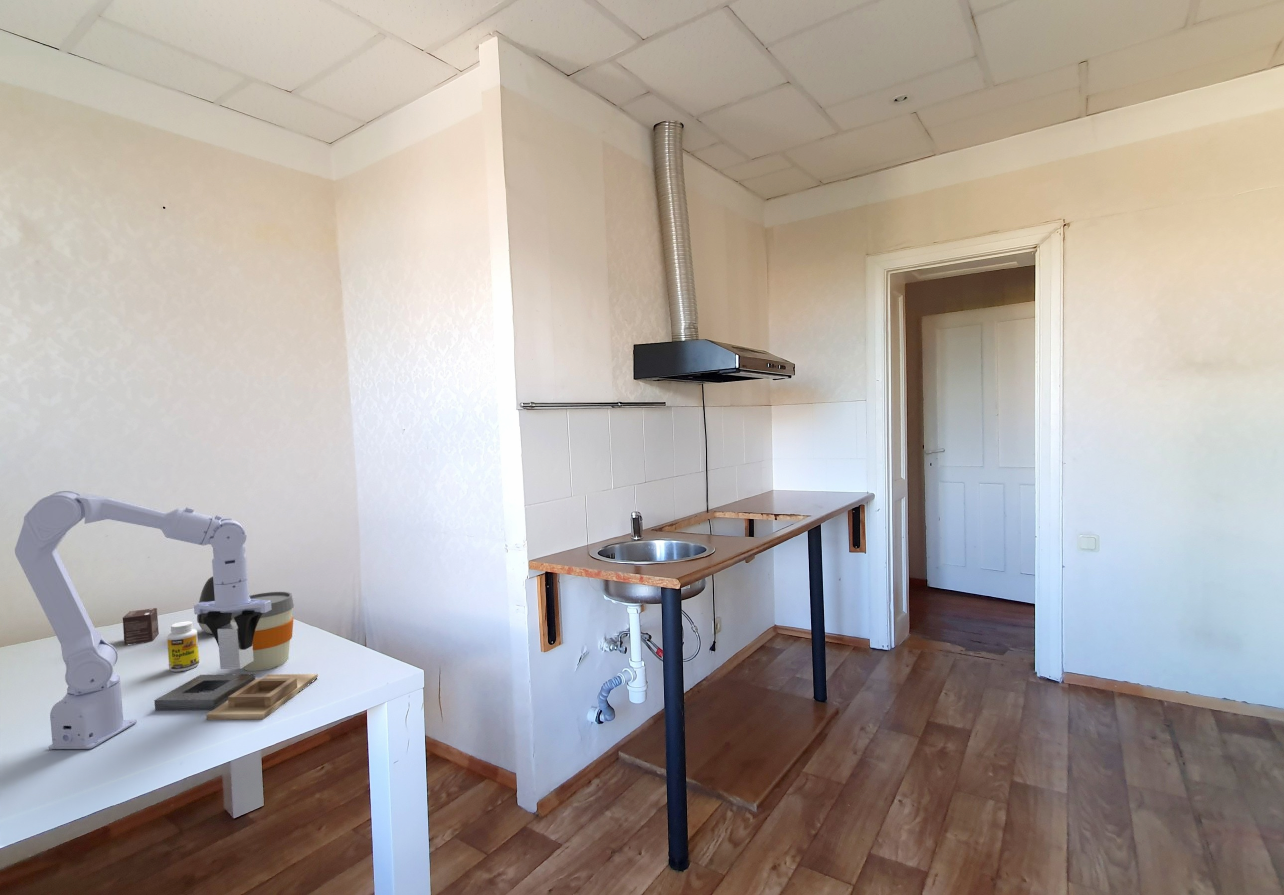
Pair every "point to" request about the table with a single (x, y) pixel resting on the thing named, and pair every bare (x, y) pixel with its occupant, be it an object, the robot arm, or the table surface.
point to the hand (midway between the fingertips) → (235, 648)
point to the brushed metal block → (232, 648)
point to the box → (140, 626)
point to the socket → (194, 700)
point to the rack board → (261, 697)
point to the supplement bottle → (182, 647)
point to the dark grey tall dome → (206, 596)
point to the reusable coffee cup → (272, 632)
